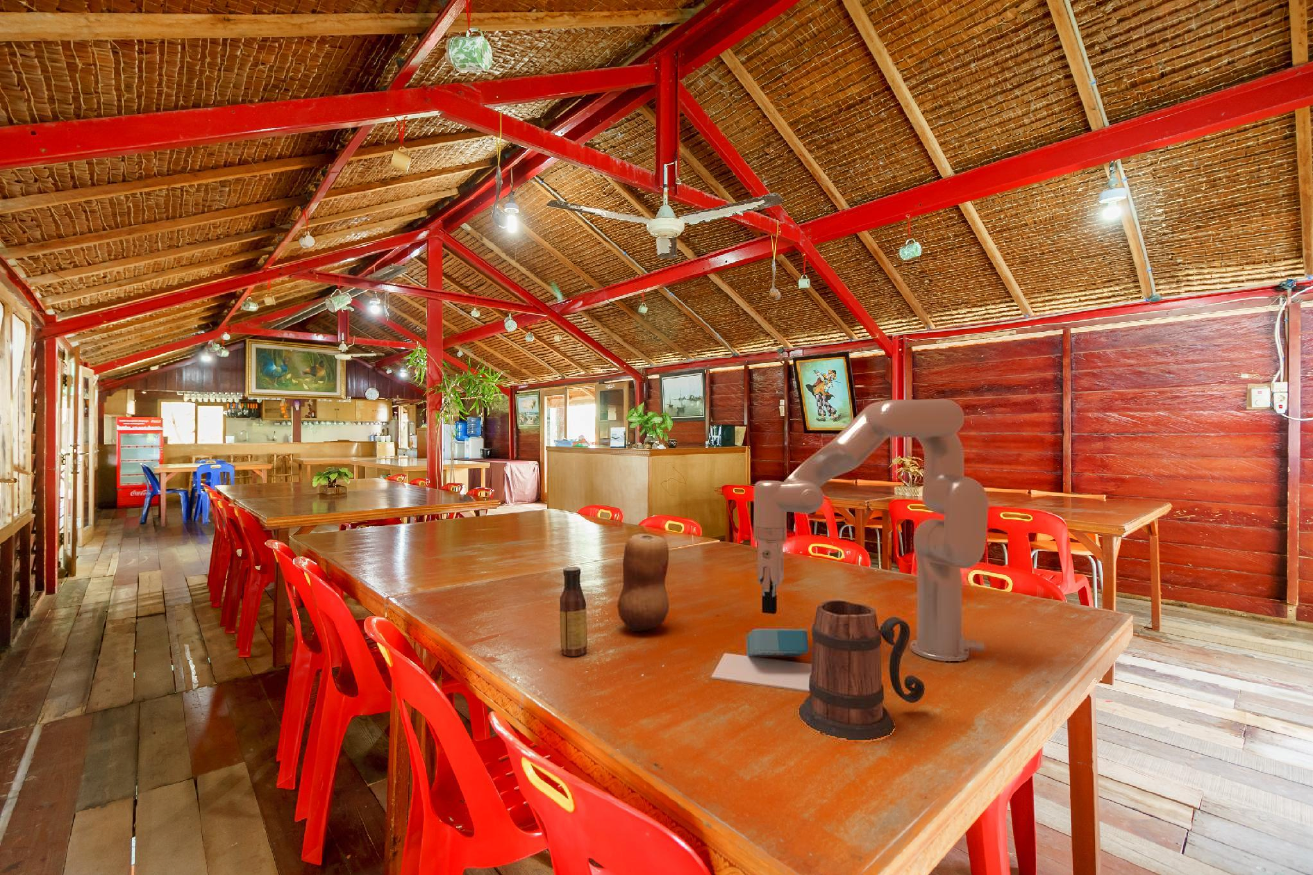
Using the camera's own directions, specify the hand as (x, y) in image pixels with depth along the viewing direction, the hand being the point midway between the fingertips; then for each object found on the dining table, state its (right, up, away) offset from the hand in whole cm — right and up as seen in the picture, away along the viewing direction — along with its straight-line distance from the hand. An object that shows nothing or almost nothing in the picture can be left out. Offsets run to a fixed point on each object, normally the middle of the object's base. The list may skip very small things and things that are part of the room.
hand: (769, 612), depth 133 cm
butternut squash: (-30, -10, +18) cm, 36 cm away
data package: (+1, -8, +1) cm, 8 cm away
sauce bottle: (-46, -10, +1) cm, 47 cm away
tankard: (+11, -10, -29) cm, 33 cm away
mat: (-3, -10, -9) cm, 14 cm away
